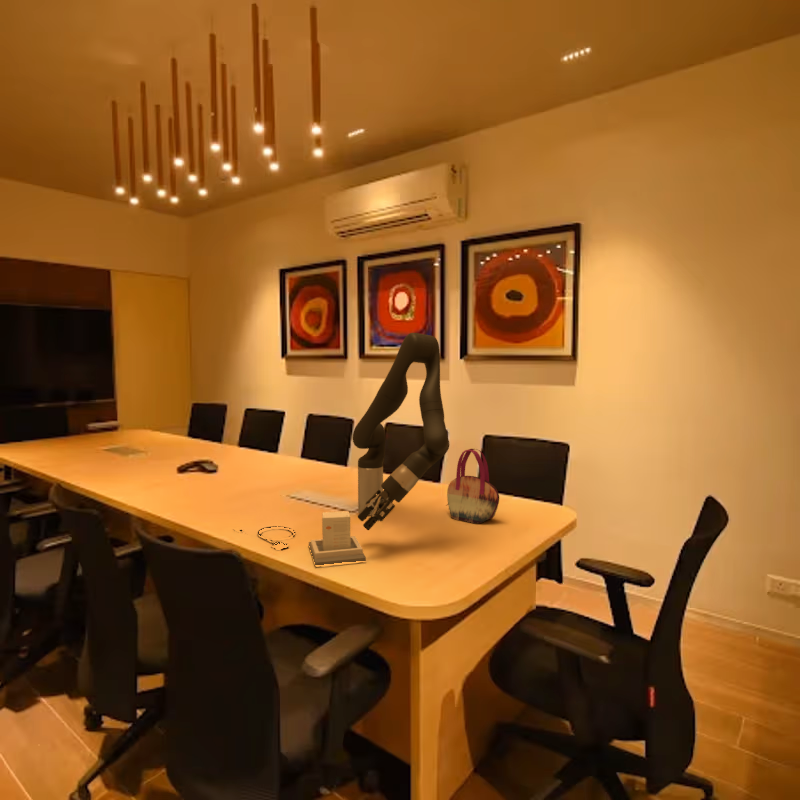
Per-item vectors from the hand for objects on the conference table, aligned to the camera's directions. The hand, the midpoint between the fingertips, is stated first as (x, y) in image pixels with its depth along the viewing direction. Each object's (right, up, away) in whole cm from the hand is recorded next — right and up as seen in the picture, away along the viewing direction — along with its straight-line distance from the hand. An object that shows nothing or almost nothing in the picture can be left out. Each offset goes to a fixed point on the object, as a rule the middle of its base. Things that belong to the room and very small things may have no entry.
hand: (362, 523), depth 157 cm
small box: (-7, -7, -2) cm, 11 cm away
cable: (-30, -8, +16) cm, 35 cm away
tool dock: (-8, -9, -1) cm, 12 cm away
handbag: (+36, -6, +34) cm, 50 cm away
